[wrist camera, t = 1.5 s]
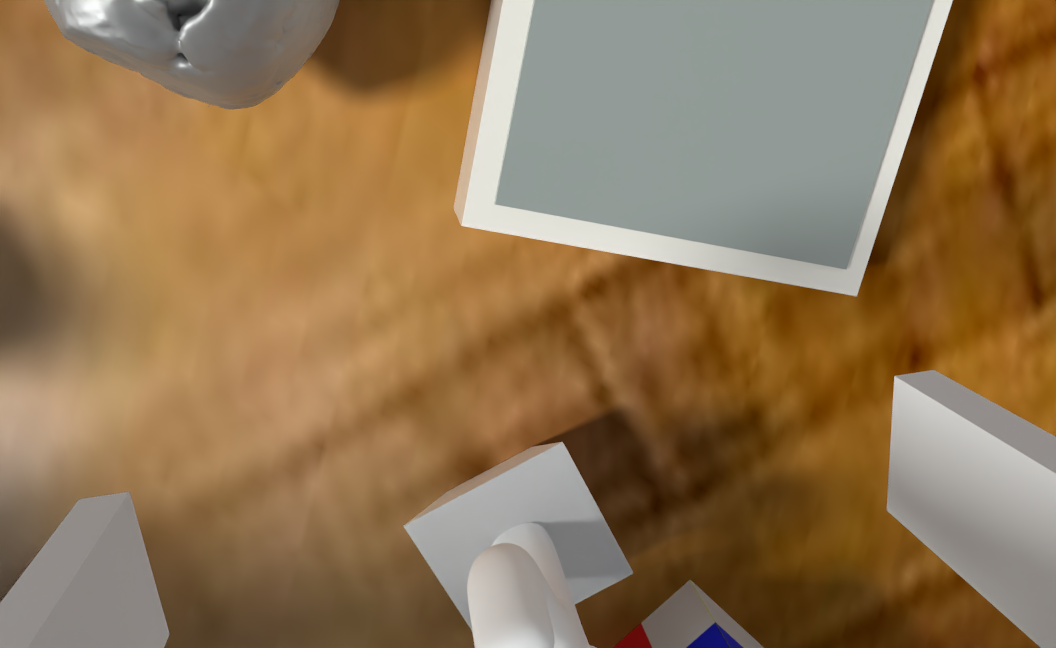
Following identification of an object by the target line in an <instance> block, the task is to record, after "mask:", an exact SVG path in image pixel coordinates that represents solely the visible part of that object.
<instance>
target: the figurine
mask: <svg viewBox="0 0 1056 648" xmlns="http://www.w3.org/2000/svg"><path fill="white" fill-rule="evenodd" d="M403 527H404V528H405V530H406V531H407V533H408V534H409V536H410V537H411V539H412V540H413V542H414V543H415V545H416V546H417V548H418V549H419V551H420V553H421V554H422V556H423V557H424V559H425V560H426V562H427V563H428V565H429V566H430V568H431V569H432V571H433V572H434V574H435V575H436V577H437V578H438V580H439V582H440V583H441V585H442V586H443V588H444V589H445V591H446V592H447V594H448V595H449V597H450V598H451V600H452V601H453V603H454V604H455V606H456V607H457V609H458V611H459V612H460V614H461V615H462V617H463V618H464V620H465V621H466V623H467V624H468V626H469V627H470V629H471V630H472V632H473V638H474V645H475V648H597V647H594V646H591V645H589V643H588V640H587V638H586V635H585V633H584V630H583V627H582V625H581V622H580V619H579V616H578V613H577V610H576V607H575V604H577V603H579V602H581V601H582V600H584V599H586V598H588V597H590V596H592V595H594V594H596V593H598V592H599V591H601V590H603V589H605V588H607V587H609V586H611V585H613V584H615V583H616V582H618V581H620V580H622V579H624V578H626V577H628V576H630V575H632V574H633V571H632V569H631V567H630V565H629V563H628V562H627V560H626V558H625V556H624V554H623V552H622V550H621V549H620V547H619V545H618V543H617V541H616V539H615V538H614V536H613V534H612V532H611V530H610V528H609V526H608V525H607V523H606V521H605V519H604V517H603V515H602V513H601V512H600V510H599V508H598V506H597V504H596V502H595V500H594V499H593V497H592V495H591V493H590V491H589V489H588V487H587V486H586V484H585V482H584V480H583V478H582V476H581V474H580V473H579V471H578V469H577V467H576V465H575V463H574V462H573V460H572V458H571V456H570V454H569V452H568V450H567V449H566V447H565V445H564V443H563V442H558V443H552V444H546V445H540V446H534V447H530V448H528V449H527V450H525V451H523V452H521V453H519V454H517V455H515V456H513V457H511V458H510V459H508V460H506V461H504V462H502V463H500V464H498V465H496V466H494V467H493V468H491V469H489V470H487V471H485V472H483V473H481V474H479V475H477V476H475V477H474V478H472V479H470V480H468V481H466V482H464V483H462V484H460V485H458V486H457V487H455V488H453V489H451V490H449V491H447V492H446V493H444V494H443V495H442V496H441V497H439V498H438V499H437V500H436V501H434V502H433V503H432V504H430V505H429V506H428V507H427V508H425V509H424V510H423V511H422V512H420V513H419V514H418V515H417V516H415V517H414V518H413V519H411V520H410V521H409V522H408V523H406V524H405V525H404V526H403Z"/></svg>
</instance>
